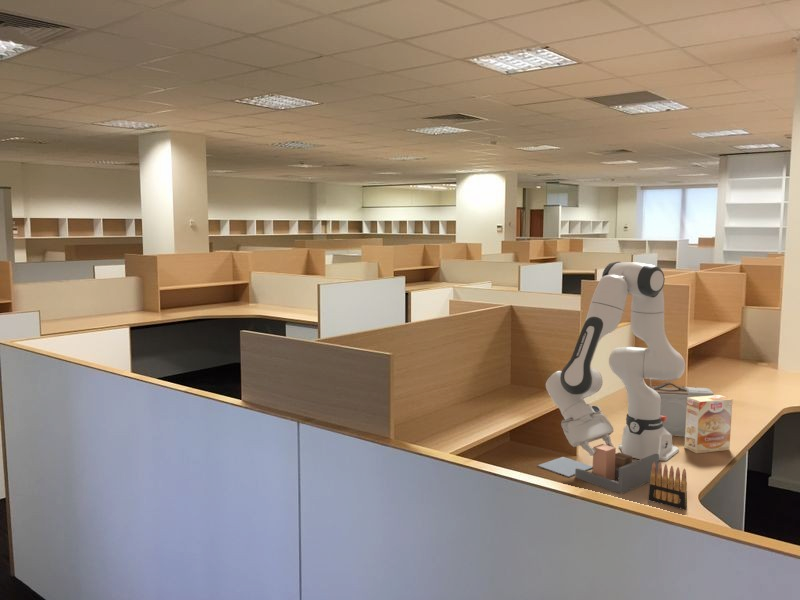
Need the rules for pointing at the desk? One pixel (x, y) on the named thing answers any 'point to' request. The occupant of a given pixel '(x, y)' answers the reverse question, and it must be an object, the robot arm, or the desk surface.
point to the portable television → (677, 405)
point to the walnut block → (622, 460)
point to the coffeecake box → (708, 423)
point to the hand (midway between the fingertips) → (602, 451)
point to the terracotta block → (604, 461)
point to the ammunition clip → (668, 487)
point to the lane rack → (623, 475)
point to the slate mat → (565, 466)
